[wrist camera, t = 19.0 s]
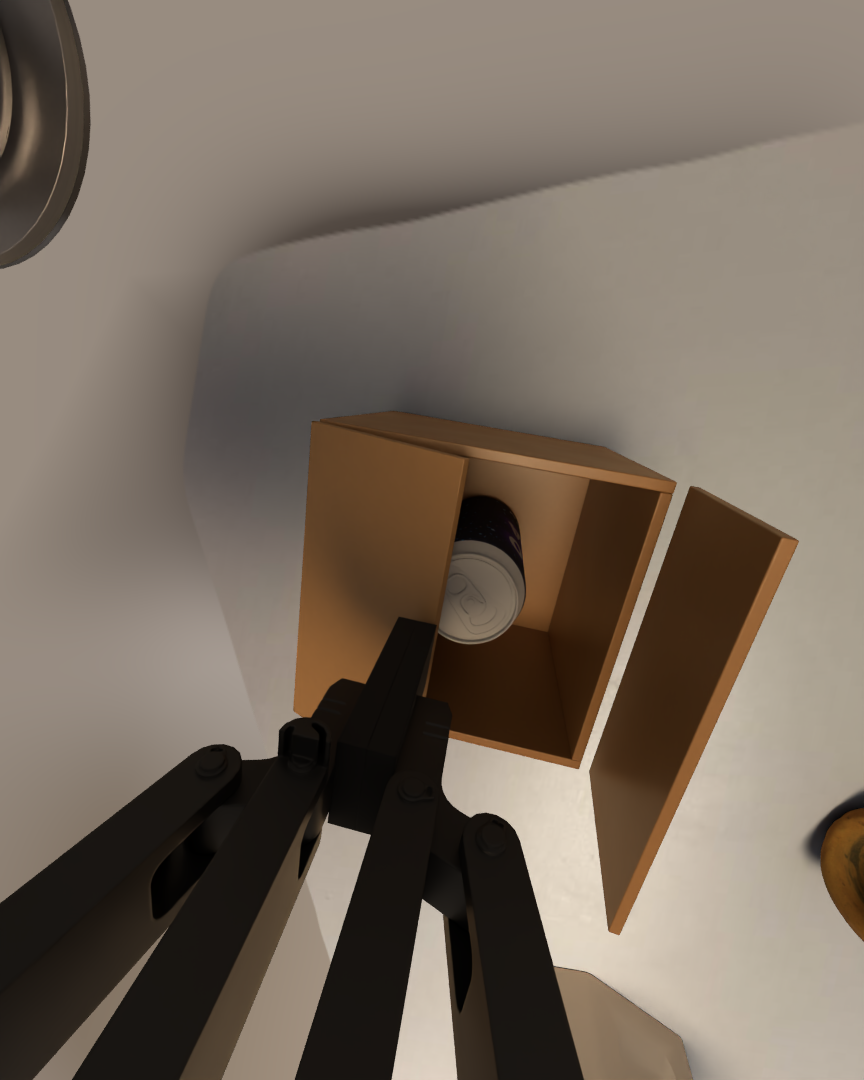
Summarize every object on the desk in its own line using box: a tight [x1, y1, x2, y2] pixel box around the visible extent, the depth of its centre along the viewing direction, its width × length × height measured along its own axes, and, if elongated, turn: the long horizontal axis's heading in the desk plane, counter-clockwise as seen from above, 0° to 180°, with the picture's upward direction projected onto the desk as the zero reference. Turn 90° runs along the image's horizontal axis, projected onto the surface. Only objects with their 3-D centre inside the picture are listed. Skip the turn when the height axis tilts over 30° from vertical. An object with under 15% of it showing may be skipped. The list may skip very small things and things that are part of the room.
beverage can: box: [438, 496, 526, 644], centre depth 27 cm, size 6×6×12 cm
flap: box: [293, 421, 469, 718], centre depth 19 cm, size 7×15×1 cm, turn 170°
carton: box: [320, 411, 799, 935], centre depth 24 cm, size 16×15×21 cm
